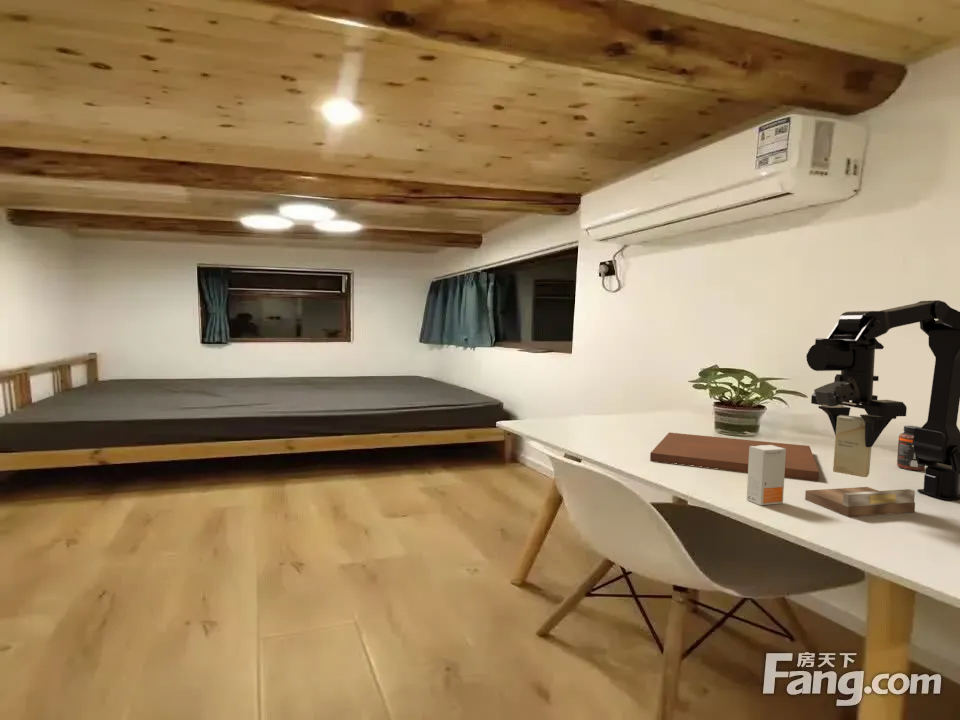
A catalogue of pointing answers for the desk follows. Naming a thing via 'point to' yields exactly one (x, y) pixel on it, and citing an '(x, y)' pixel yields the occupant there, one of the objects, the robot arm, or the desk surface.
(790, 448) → the brown wooden cutting board
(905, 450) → the supplement bottle
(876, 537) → the desk surface
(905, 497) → the brown flat block
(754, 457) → the skincare box
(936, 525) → the desk surface
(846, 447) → the skincare box
